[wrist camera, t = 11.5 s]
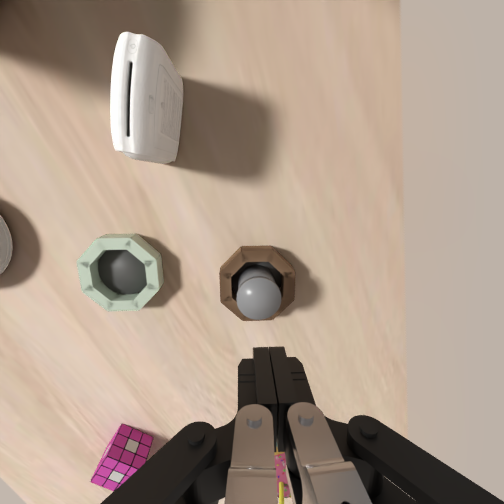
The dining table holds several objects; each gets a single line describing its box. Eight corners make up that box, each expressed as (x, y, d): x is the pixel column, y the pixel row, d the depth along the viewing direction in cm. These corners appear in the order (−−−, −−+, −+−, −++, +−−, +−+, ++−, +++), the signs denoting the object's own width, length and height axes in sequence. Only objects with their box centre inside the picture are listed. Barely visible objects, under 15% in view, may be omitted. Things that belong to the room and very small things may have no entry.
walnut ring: (219, 246, 40) (218, 251, 37) (292, 245, 40) (295, 249, 38) (222, 313, 42) (221, 321, 40) (290, 311, 43) (293, 319, 40)
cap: (236, 263, 40) (235, 279, 34) (275, 262, 40) (281, 278, 34) (237, 299, 41) (237, 320, 36) (275, 298, 42) (281, 319, 36)
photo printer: (150, 69, 34) (101, 13, 22) (187, 76, 34) (159, 25, 22) (144, 160, 36) (98, 155, 25) (178, 166, 37) (150, 163, 25)
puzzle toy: (122, 422, 47) (106, 456, 41) (153, 436, 48) (143, 471, 42) (106, 446, 48) (89, 482, 43) (138, 460, 49) (125, 496, 44)
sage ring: (82, 234, 39) (72, 238, 36) (159, 233, 39) (153, 237, 36) (94, 303, 41) (85, 312, 39) (165, 301, 42) (161, 309, 39)
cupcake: (245, 449, 49) (247, 534, 38) (277, 416, 48) (289, 494, 36) (284, 471, 51) (297, 559, 40) (316, 440, 49) (339, 522, 38)
